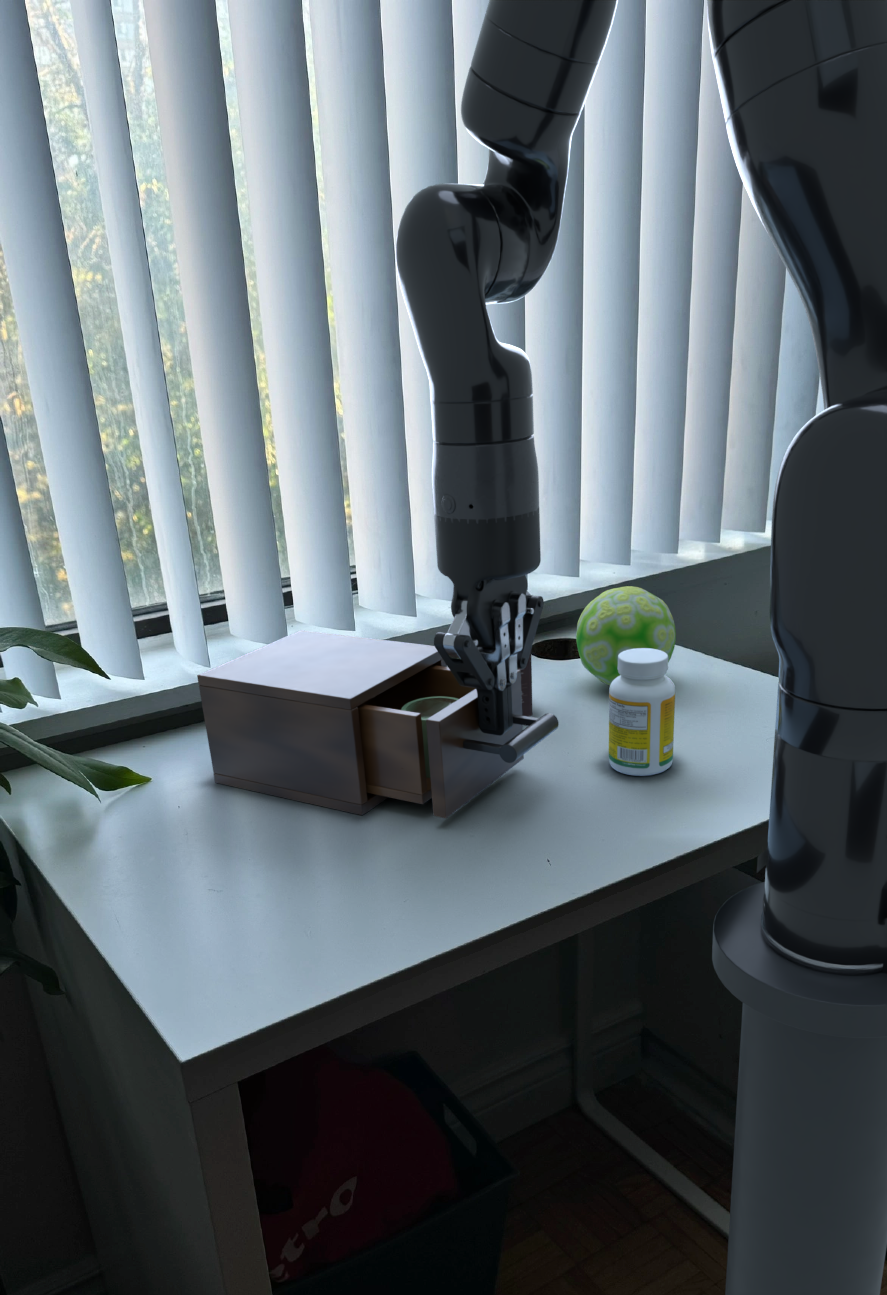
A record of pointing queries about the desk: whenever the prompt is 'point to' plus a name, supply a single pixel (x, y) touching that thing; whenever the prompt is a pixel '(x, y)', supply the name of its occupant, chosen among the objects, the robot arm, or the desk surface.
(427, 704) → the pot
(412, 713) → the drawer
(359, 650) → the cabinet
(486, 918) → the desk surface
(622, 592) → the decorative ball
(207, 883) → the desk surface
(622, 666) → the supplement bottle
